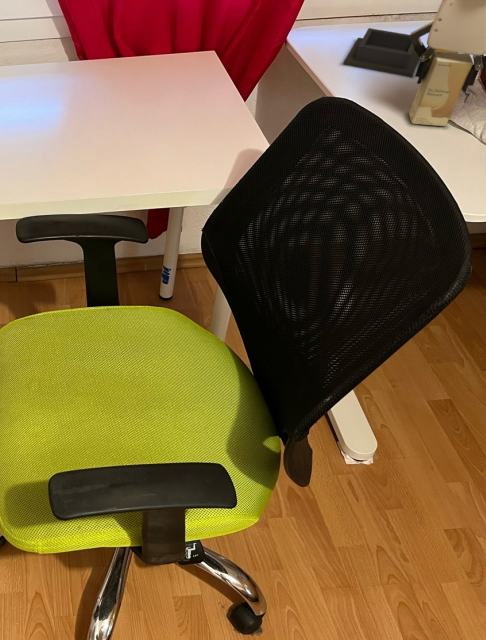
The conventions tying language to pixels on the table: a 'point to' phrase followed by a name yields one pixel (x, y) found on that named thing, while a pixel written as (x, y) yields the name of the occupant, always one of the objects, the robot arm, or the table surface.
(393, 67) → the dark grey box holder
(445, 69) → the cosmetic box
